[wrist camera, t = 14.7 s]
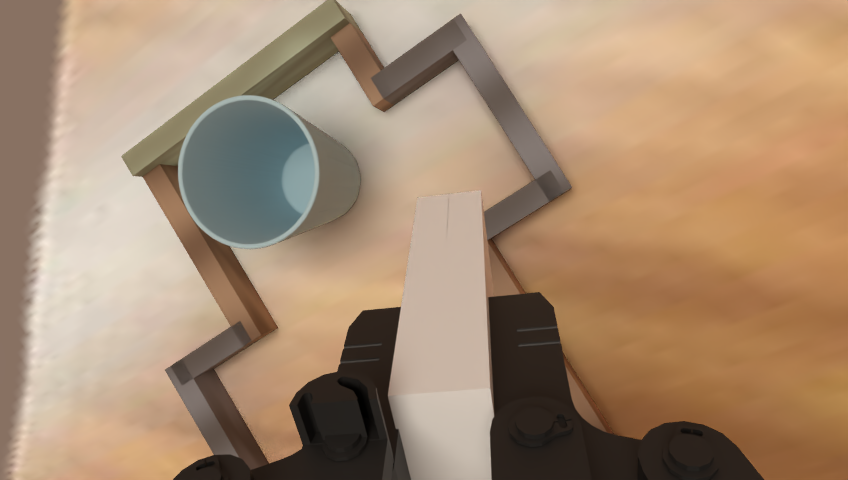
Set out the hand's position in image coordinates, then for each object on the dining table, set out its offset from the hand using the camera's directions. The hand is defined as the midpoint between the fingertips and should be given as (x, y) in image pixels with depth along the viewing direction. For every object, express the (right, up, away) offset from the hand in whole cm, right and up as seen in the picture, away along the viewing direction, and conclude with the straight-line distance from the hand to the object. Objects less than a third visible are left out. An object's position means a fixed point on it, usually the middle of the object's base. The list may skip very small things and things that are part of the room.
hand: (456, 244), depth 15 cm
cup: (-8, +4, +27) cm, 28 cm away
